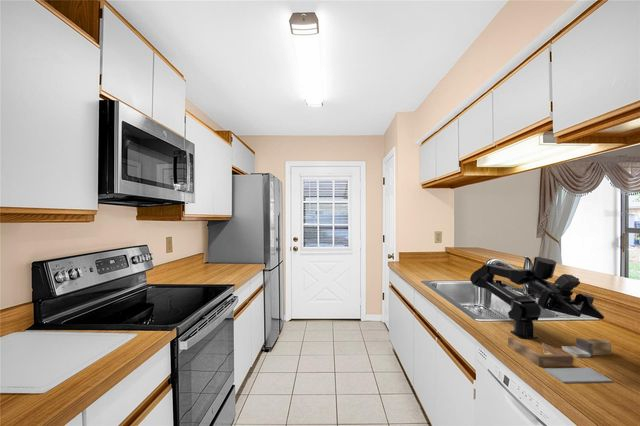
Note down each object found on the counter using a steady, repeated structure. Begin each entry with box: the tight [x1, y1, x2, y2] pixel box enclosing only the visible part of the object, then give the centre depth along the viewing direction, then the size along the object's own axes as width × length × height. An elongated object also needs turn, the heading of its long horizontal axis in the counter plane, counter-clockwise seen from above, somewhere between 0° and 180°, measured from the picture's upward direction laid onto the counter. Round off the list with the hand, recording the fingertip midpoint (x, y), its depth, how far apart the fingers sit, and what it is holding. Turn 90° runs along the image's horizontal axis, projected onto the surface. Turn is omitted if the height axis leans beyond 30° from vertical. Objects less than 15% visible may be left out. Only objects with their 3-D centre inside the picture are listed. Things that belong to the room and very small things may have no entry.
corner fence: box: [507, 336, 573, 367], centre depth 98 cm, size 14×10×3 cm
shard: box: [541, 341, 573, 357], centre depth 100 cm, size 11×8×2 cm
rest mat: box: [543, 367, 613, 384], centre depth 86 cm, size 7×14×1 cm, turn 91°
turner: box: [561, 337, 612, 358], centre depth 100 cm, size 13×6×4 cm, turn 91°
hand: (591, 316), depth 90 cm, fingers open, 9 cm apart
